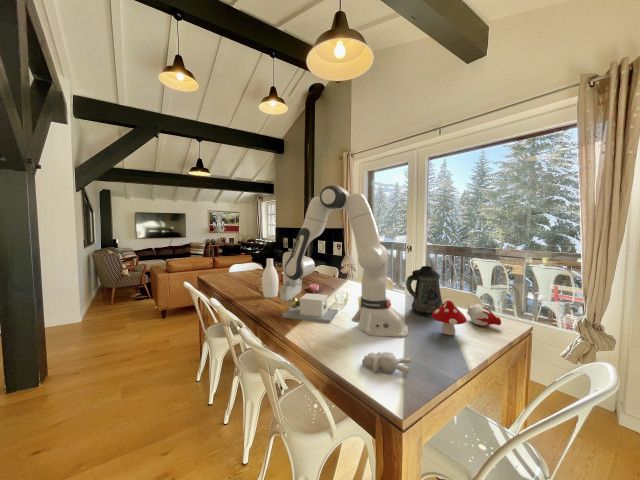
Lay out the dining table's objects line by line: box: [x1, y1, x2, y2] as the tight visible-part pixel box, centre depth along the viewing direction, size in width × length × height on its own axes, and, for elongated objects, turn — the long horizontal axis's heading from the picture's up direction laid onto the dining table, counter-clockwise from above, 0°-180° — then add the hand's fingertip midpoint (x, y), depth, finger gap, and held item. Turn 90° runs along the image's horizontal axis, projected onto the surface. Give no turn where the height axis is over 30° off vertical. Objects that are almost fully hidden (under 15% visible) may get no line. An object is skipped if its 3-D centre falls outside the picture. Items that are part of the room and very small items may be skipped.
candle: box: [466, 303, 502, 328], centre depth 120 cm, size 9×11×15 cm
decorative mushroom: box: [431, 300, 468, 336], centre depth 110 cm, size 14×14×15 cm
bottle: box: [261, 258, 279, 299], centre depth 171 cm, size 11×11×25 cm
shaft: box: [291, 297, 326, 309], centre depth 136 cm, size 18×5×5 cm, turn 72°
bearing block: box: [281, 292, 339, 324], centre depth 136 cm, size 26×16×10 cm, turn 72°
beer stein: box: [405, 265, 444, 318], centre depth 137 cm, size 16×19×25 cm
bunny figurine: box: [361, 351, 411, 375], centre depth 85 cm, size 10×5×15 cm
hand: (291, 304), depth 139 cm, fingers closed, pressing on shaft
